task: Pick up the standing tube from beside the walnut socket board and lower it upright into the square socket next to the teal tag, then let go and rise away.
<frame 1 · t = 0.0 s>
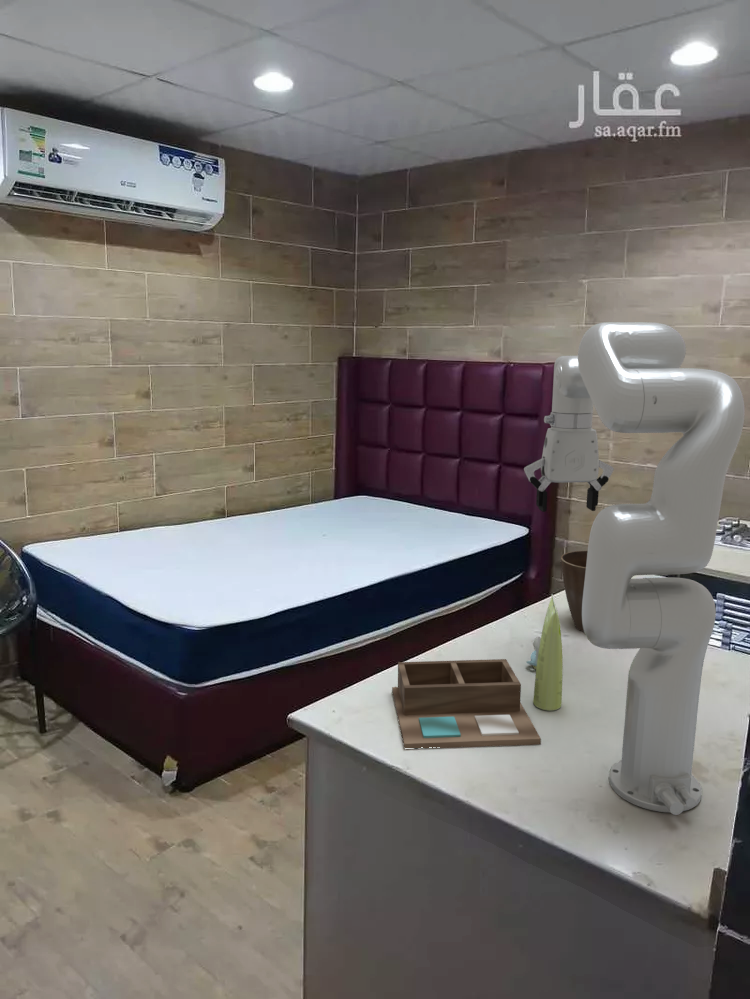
hand: (566, 509, 148), 31 cm above the counter, tool pointing down, fingers open, 9 cm apart
plant pot: (591, 628, 172), on the counter
pacifier: (543, 668, 152), on the counter
socket board: (459, 711, 133), on the counter
tube: (547, 706, 136), on the counter
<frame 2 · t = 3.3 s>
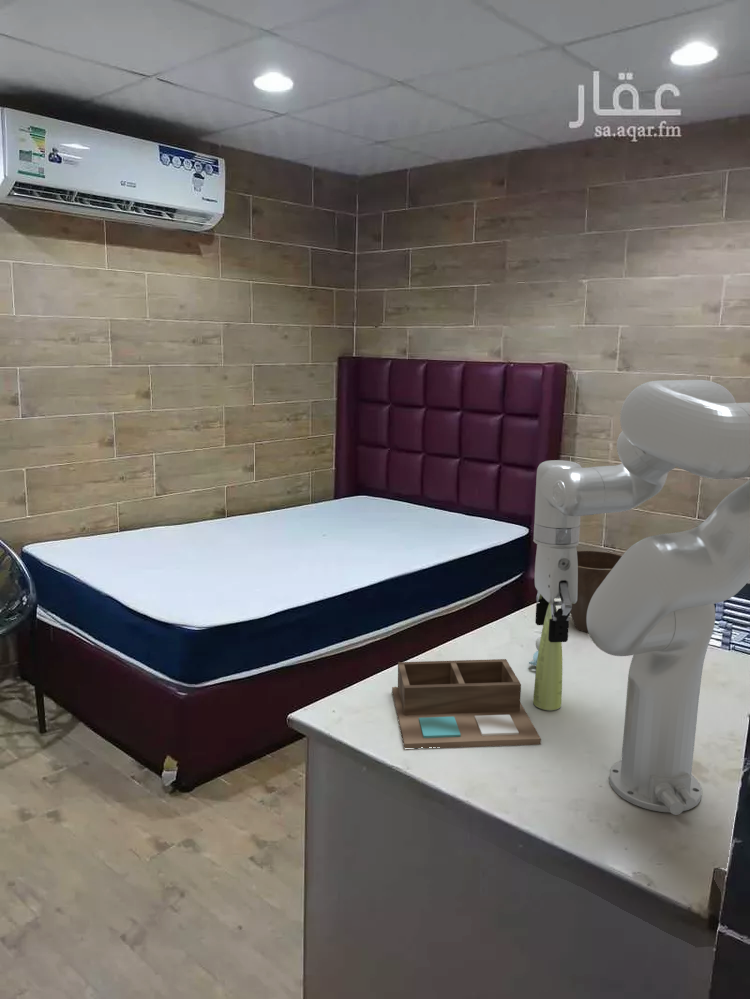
hand: (551, 632, 133), 14 cm above the counter, tool pointing down, fingers closed on tube, 7 cm apart
tube: (547, 706, 136), on the counter, touching gripper
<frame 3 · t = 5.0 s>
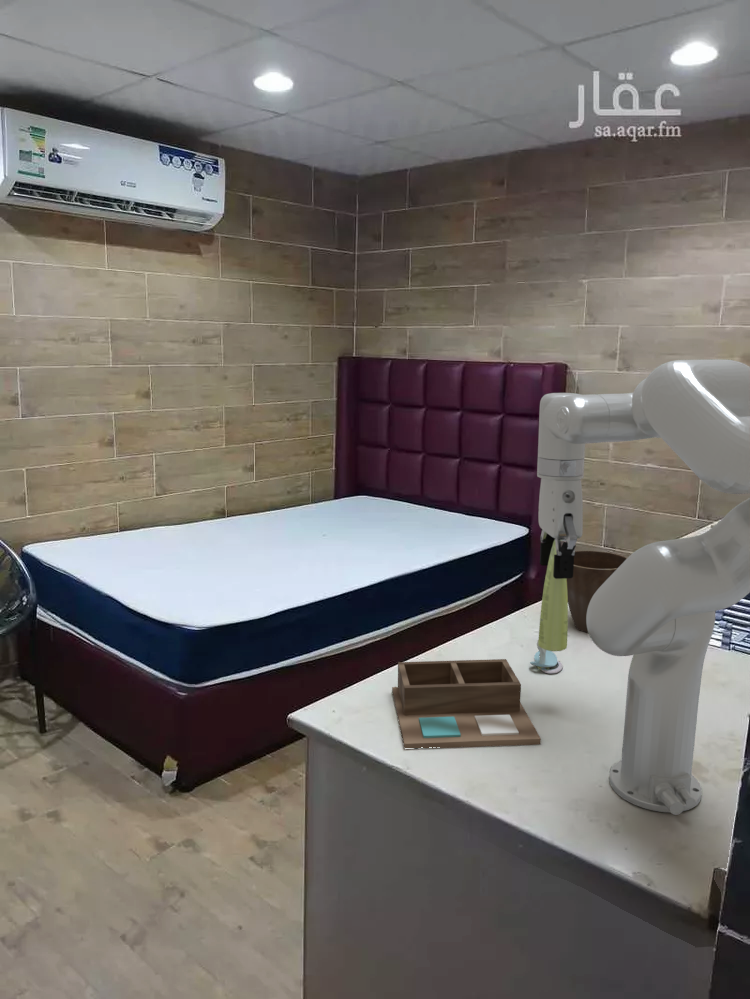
hand: (555, 570, 130), 25 cm above the counter, tool pointing down, fingers closed on tube, 7 cm apart
tube: (552, 648, 133), point 11 cm above the counter, touching gripper
everything else where it was.
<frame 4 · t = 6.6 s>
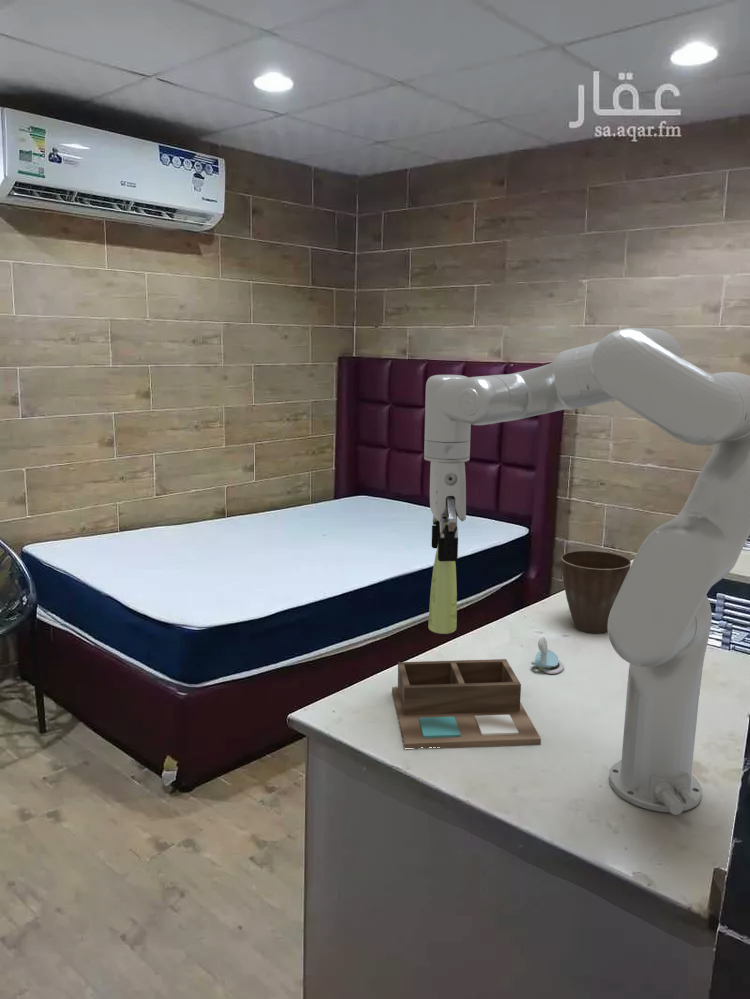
hand: (444, 553, 130), 28 cm above the counter, tool pointing down, fingers closed on tube, 7 cm apart
tube: (442, 630, 133), point 14 cm above the counter, touching gripper
everything else where it was.
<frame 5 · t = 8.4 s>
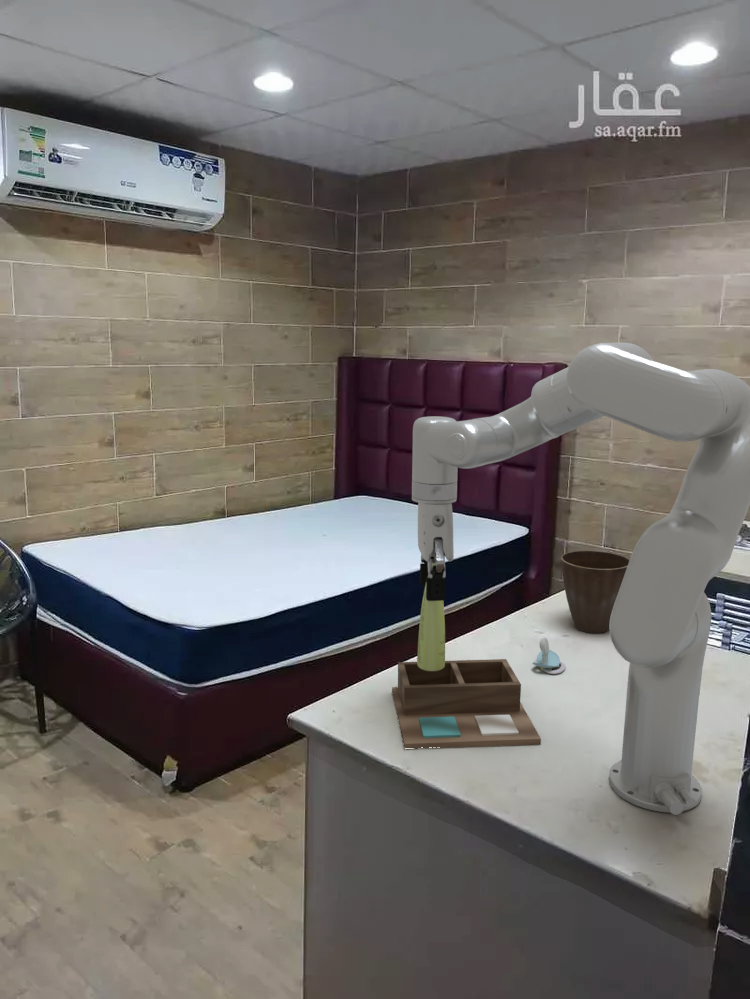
hand: (432, 591, 131), 21 cm above the counter, tool pointing down, fingers closed on tube, 7 cm apart
tube: (430, 667, 134), point 7 cm above the counter, touching gripper
when the fingers open (16 cm above the counter, at t = 10.1 s): tube drops 1 cm, resting on socket board.
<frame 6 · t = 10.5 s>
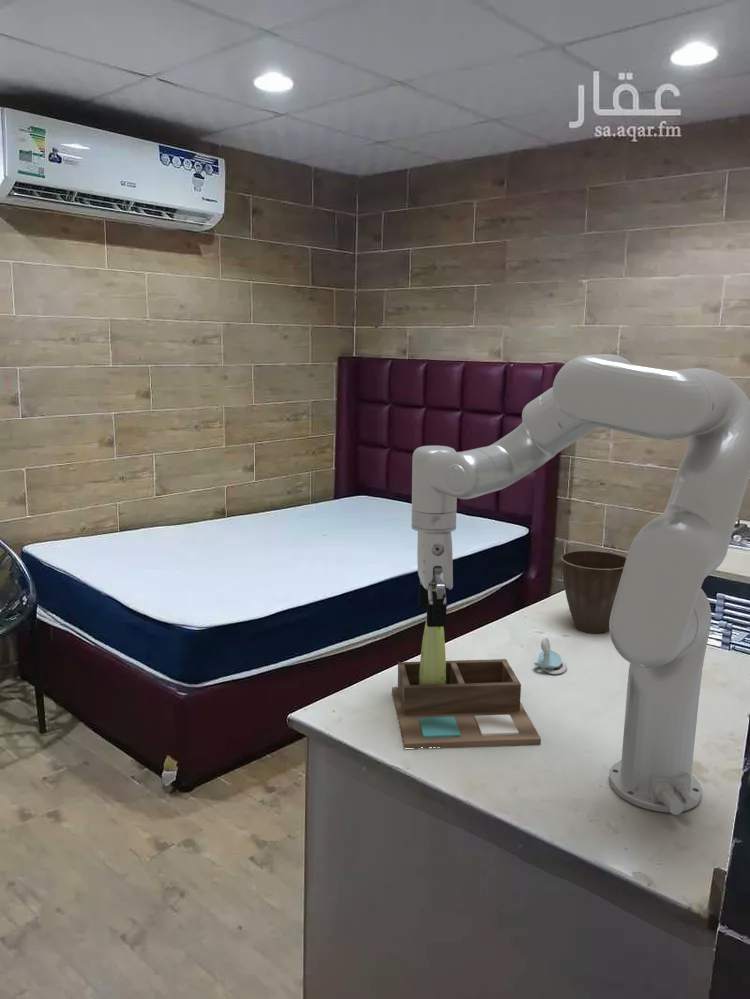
hand: (432, 615, 132), 17 cm above the counter, tool pointing down, fingers open, 9 cm apart
tube: (431, 702, 135), point 1 cm above the counter, touching socket board
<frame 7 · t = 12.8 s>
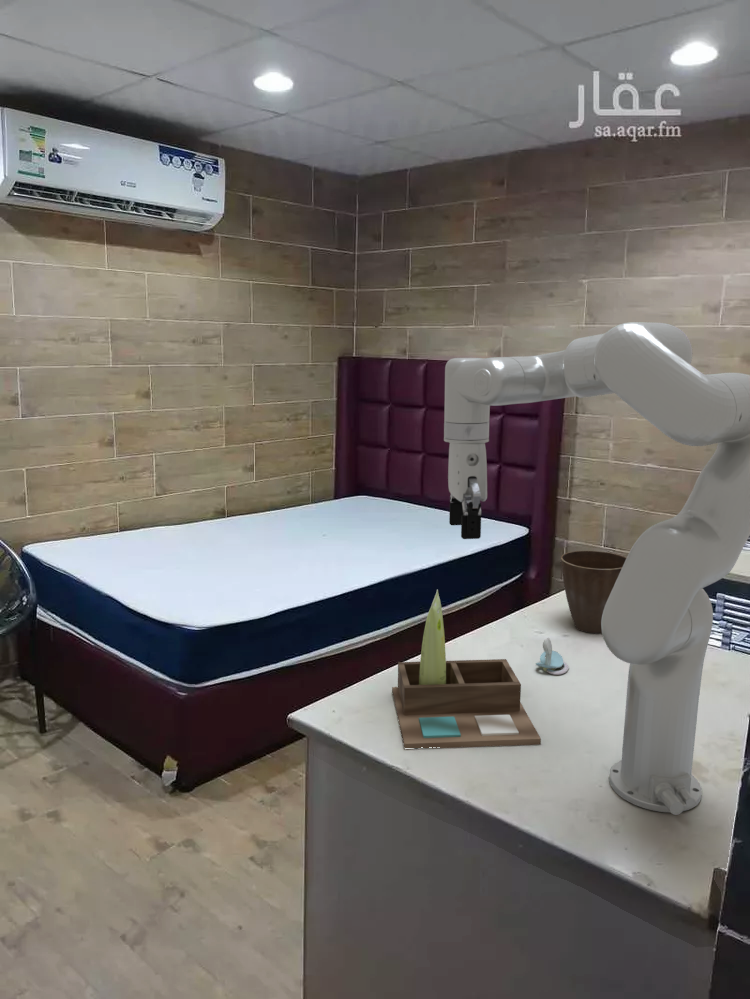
hand: (464, 531, 132), 31 cm above the counter, tool pointing down, fingers open, 9 cm apart
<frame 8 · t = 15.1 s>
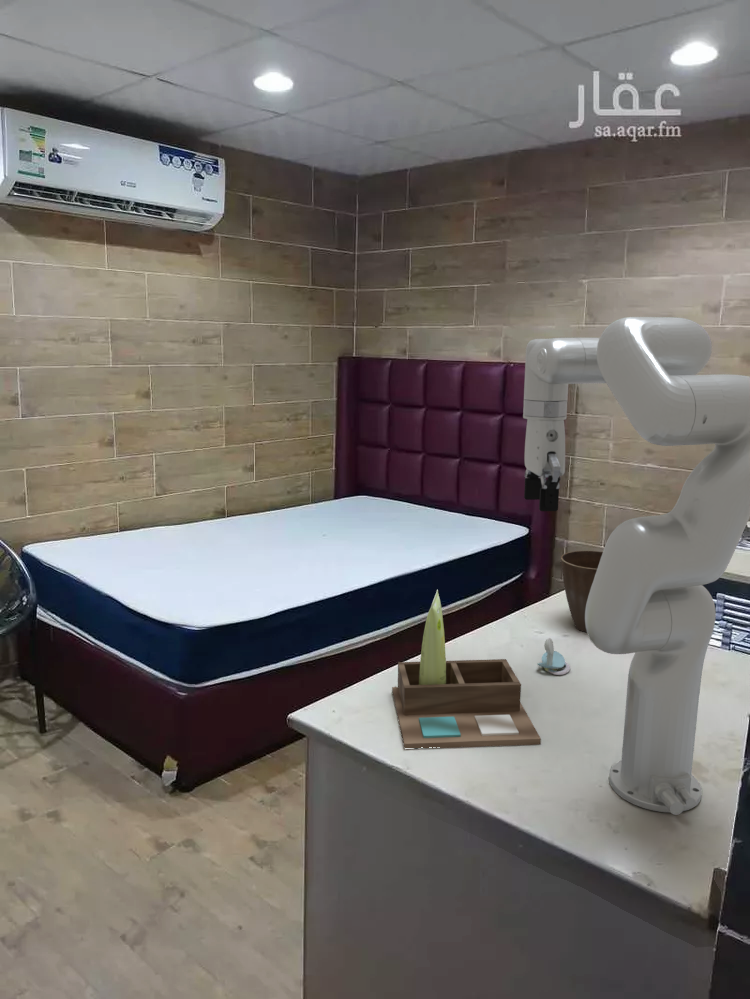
hand: (540, 504, 138), 34 cm above the counter, tool pointing down, fingers open, 9 cm apart
at the end: tube inside the target area on the socket board (0.5 cm from its centre), point 0.8 cm above the socket board's base; tube tilted 0°; the gripper is holding nothing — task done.
